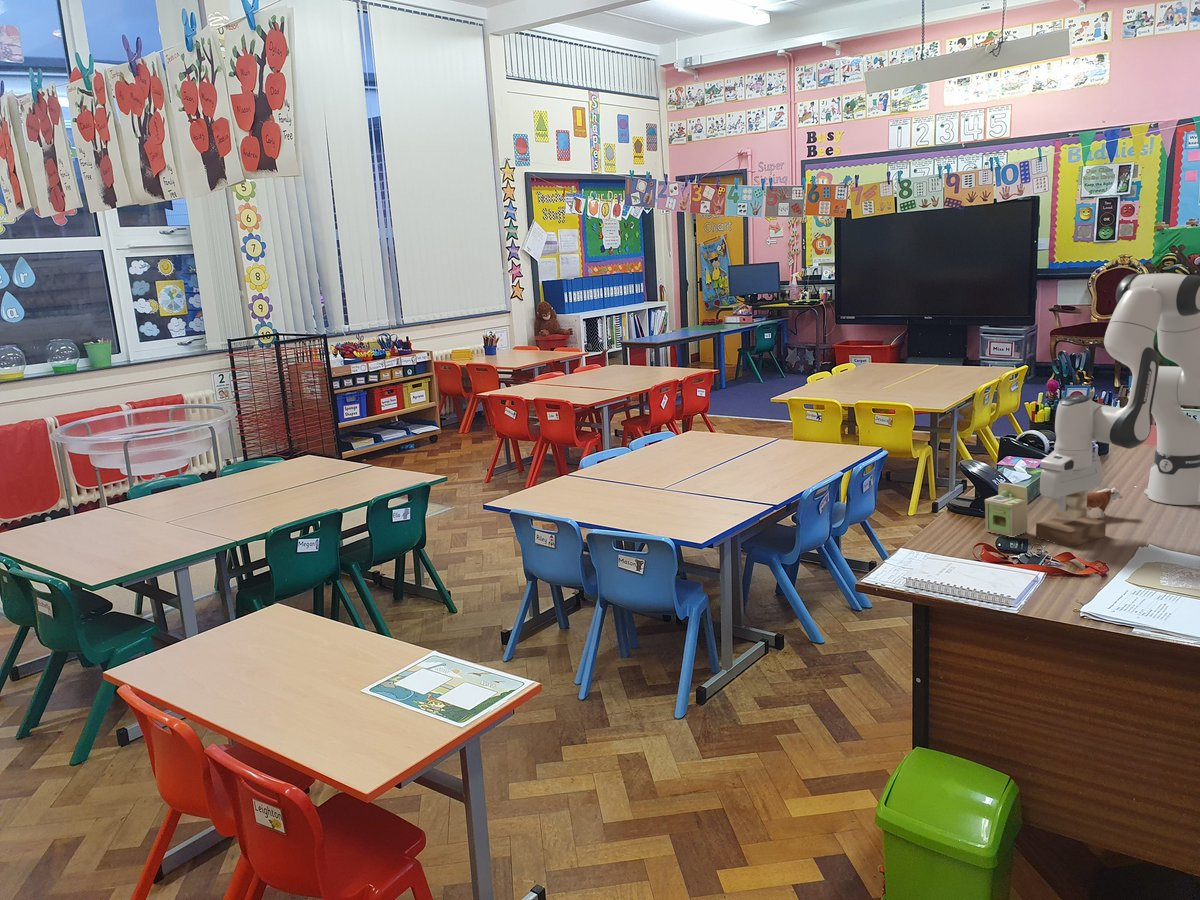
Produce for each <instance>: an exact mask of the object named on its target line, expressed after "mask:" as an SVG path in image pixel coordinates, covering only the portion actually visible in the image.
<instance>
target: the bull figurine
mask: <svg viewBox="0 0 1200 900" xmlns="http://www.w3.org/2000/svg"><path fill="white" fill-rule="evenodd" d="M1123 497H1124V496H1123V495H1122V493H1121V492H1120V490H1119V489H1117V488H1116V487H1112V488H1111V489H1110V488H1103V489H1101V490H1097V491H1094V492H1093V491H1092V492H1088V495H1087V509H1088V510H1089V511H1091V510H1092V509H1096V508H1098V509H1099V516H1100V517H1101V518H1105V511H1106V509H1107V507H1108V506H1109V505H1110V504H1111V503H1112V502H1113V501H1115V500H1117V499H1123ZM1086 517H1089V518H1091V517H1090V516H1089V515H1088V513H1086Z"/></svg>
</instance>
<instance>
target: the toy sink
mask: <svg viewBox="0 0 1200 900" xmlns="http://www.w3.org/2000/svg"><path fill="white" fill-rule="evenodd" d="M997 487H998V490H997V491H998V492H997V493H998V494H997V495H995V496H991V497H988V498H985V499H984V508H985V509H984V516H985V517H984V519H985V521H984V523H985V532H986V533H989V532H991V533H990V534H993V533H996V534H995V535H998V534H1004V535H1010V536H1015V535H1018V534H1022V535H1024V534H1026V533H1025V532H1027V533H1028V488H1027V487H1026V486H1025V485H1020V484H1015V483H1009V482H1003V481H1002V482H999V483H998V486H997ZM1023 533H1024V534H1023Z"/></svg>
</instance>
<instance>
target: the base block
mask: <svg viewBox="0 0 1200 900" xmlns="http://www.w3.org/2000/svg"><path fill="white" fill-rule="evenodd" d="M1089 517H1090V516H1089ZM1089 517H1083V518H1080V519H1076V520H1070V519H1066V518H1062V517H1058V516H1056V517H1053V518H1050V519H1047V520H1043V521H1039V522H1037V523H1036V524H1035V538H1036V537H1039V538H1043V539H1046V540H1049V541H1052V542H1051V543H1053V542H1055V543H1054V544H1056V543H1057V544H1058V545H1060V546H1064V547H1068V548H1071V547H1074V546H1078V545H1080V544H1085V543H1087V542H1091V541H1093V540H1097V539H1100V538H1103V537H1106V527H1107V522H1106V521H1105V520H1102V519H1101V520H1100V519H1096V518H1093V517H1090V518H1089ZM1039 538H1038V539H1039ZM1046 540H1045V541H1046ZM1049 541H1048V542H1049Z"/></svg>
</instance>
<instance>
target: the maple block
mask: <svg viewBox="0 0 1200 900" xmlns="http://www.w3.org/2000/svg"><path fill="white" fill-rule="evenodd" d="M1065 503H1066V504H1067V505H1068V511H1065V512H1062V511H1059V510H1058V506H1059V504H1058V503H1057V502H1056V517H1062V518H1066V519H1070V520H1076V519H1080V518H1083V517H1086V513H1087V511H1088V510H1087V509H1088V508H1087V495H1086V494H1082V493H1074V494H1071V495H1067V496H1066V499H1065ZM1087 514H1088V513H1087Z"/></svg>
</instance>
